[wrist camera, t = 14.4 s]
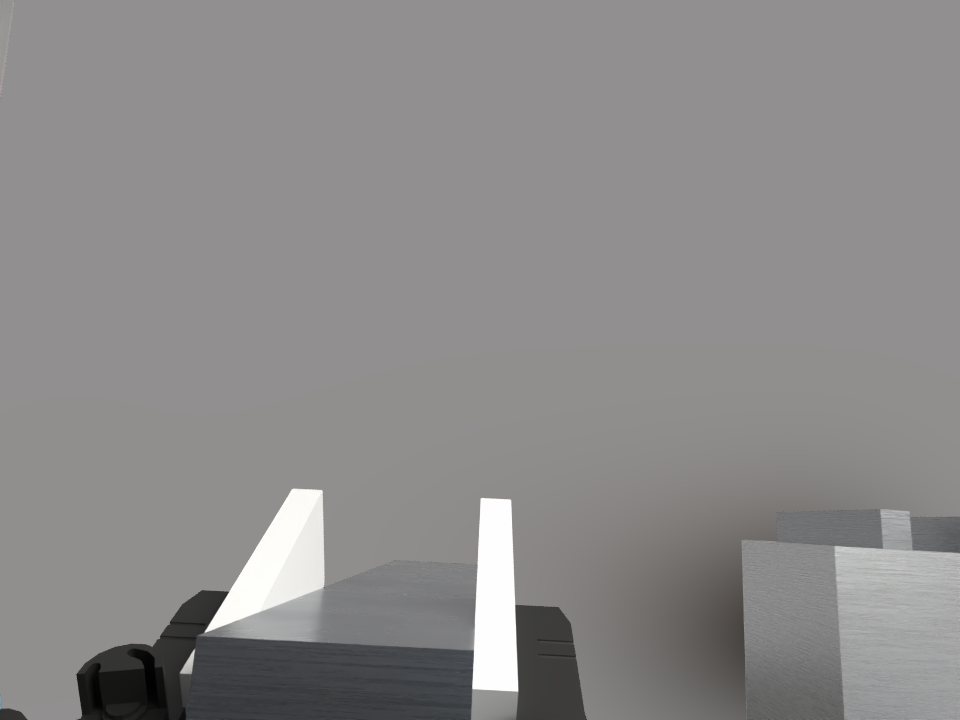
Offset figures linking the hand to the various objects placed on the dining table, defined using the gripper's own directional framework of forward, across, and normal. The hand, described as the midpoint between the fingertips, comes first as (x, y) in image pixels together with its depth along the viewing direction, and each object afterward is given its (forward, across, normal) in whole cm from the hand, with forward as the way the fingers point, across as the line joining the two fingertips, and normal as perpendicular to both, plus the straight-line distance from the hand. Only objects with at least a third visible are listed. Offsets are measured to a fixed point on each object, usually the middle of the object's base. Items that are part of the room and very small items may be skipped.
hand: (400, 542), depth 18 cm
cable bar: (+2, 0, -6) cm, 6 cm away
